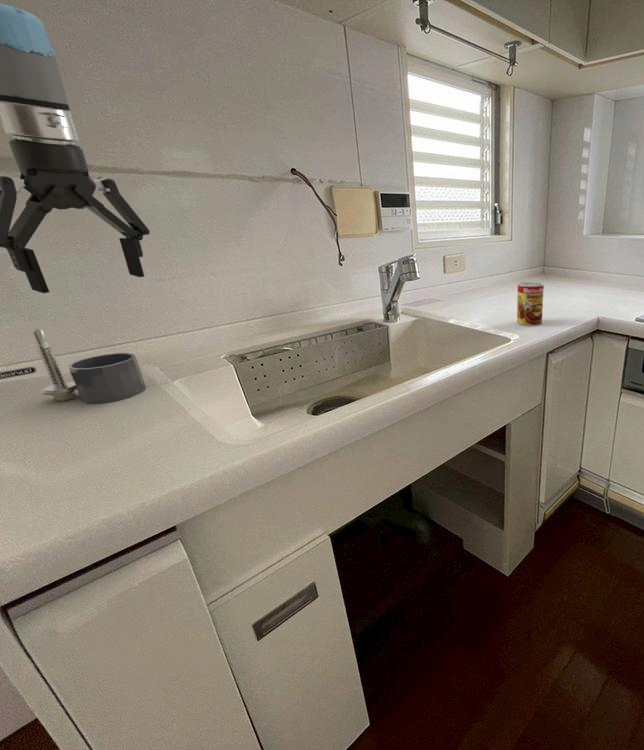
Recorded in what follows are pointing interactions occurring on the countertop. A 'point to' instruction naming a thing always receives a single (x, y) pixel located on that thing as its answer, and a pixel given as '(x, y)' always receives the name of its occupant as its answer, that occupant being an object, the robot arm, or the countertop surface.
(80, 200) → the robot arm
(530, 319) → the canned food
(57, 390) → the screw
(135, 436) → the countertop surface
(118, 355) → the steel cup
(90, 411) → the countertop surface
